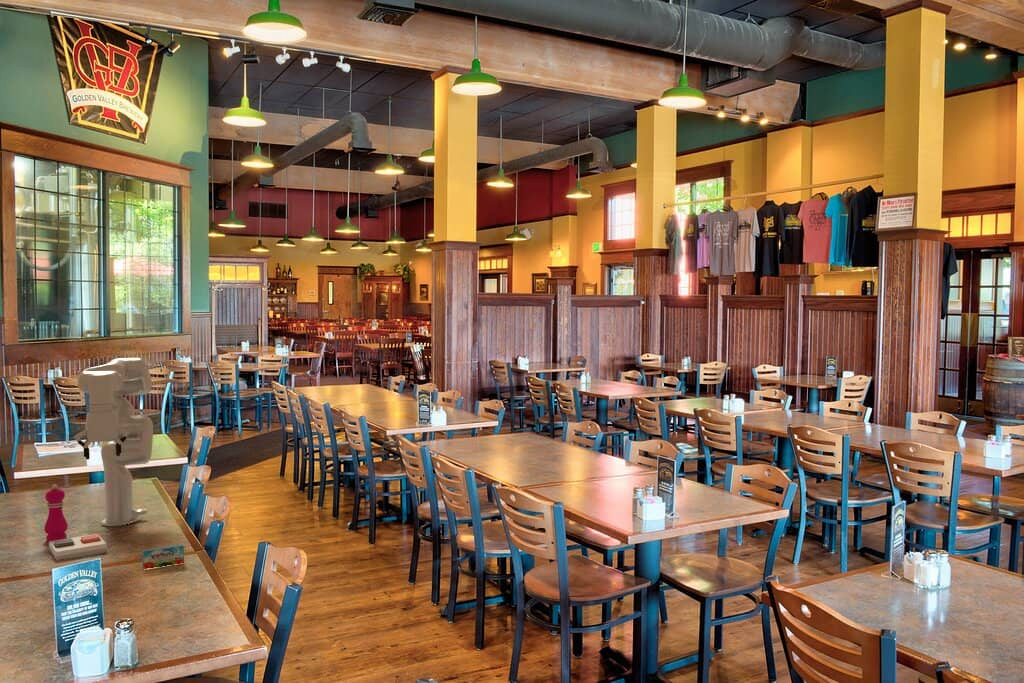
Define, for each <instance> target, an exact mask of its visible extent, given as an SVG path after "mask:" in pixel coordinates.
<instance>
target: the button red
mask: <svg viewBox="0 0 1024 683" xmlns="http://www.w3.org/2000/svg"><path fill="white" fill-rule="evenodd" d="M97 534H98V533H95V535H93V534H88V535H89V536H86V535H82V536H83V537H81V542H82V543H83V544H85V543H91V542H97V541H100V537H101V536H100V535H99V534H98V535H99V536H100V537H99V536H98V535H97Z"/></svg>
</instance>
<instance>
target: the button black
mask: <svg viewBox="0 0 1024 683" xmlns="http://www.w3.org/2000/svg"><path fill="white" fill-rule="evenodd" d="M71 538H72V537H69V539H68V538H66V539H63V540H57V541H54V542H55V548H61V547H67V546H73V545H74V541H73V540H72V539H71Z"/></svg>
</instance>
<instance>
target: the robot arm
mask: <svg viewBox="0 0 1024 683" xmlns="http://www.w3.org/2000/svg"><path fill="white" fill-rule="evenodd" d="M77 386H78V390H80V391H81V392H82V393H85V394H88V403H89V404H88V405H89V408H88V409H89V411H88V412H86V415H85V416H86V417H85V424H84V430H82V431H81V432H78V433H77V434H76V435H74V436H73V438H74V439H75V441H76V442H77V443H78V445H80V446H81V447H82V448H83V458H85V459H86V460H88V461H89V460H90V457H91V456H90V448H89V446H90V445H91V444H92V443H98V442H99V443H100V442H106V443H104V444H103V445H102V447H101V450H100V455H101V460H102V465H103V466H102V468H103V472H104V498H105V499H104V500H105V503H104V504H105V508H104V509H105V518H104V519H102V520H101V522H100V524H101V526H104V527H122V525H123V526H127V525H126V524H128V525H131V524H130V523H132V524H134V523H133V522H135V523H137V522H138V516H143V515H147V509H142V508H141V509H140V508H139V509H135V508H134V502H133V501H134V496H133V495H134V494H133V476H132V473H131V472H130V470H129V469H128V468H127V467H126V466H134V465H135V466H136V465H145V464H148V463H149V462H150V461H151V458H152V453H153V451H152V450H153V440H154V423H153V421H152V418H150V417H149V416H146V415H145V416H144V415H140V416H139V415H137V416H135V407H134V405H133V404H132V402H130V400H128V399H127V398H125V397H124V396H143V395H147V394H149V393H150V392H151V391H152V388H153V381H152V377H151V373H150V370H149V366H148V364H147V362H146V361H145V360H144V359H143V358H141V357H120V358H114V359H112V360H109V362H107V363H106V364H103V365H98V366H94V367H93V366H92V367H89V368H85V369H84V370H82V372H80V374H79V376H78V378H77ZM82 437H84V438H85V441H83V440H82V439H81V438H82ZM107 441H108V442H107Z"/></svg>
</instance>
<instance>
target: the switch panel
mask: <svg viewBox="0 0 1024 683" xmlns="http://www.w3.org/2000/svg"><path fill="white" fill-rule="evenodd" d="M95 534H97V535H98V536H99V537H100V541H97V542H91V543H85V544H83V543H82V542H81V537H83V536H84V535H80V536H75V537H69V538H71V539H72V540H73V541H74V545H73V546H67V547H61V548H55V542H54V541H49V542H48V550H50V551H49V552H50V553H52V554H51V555H52V557H53V556H54V557H53V558H54V560H55V559H56V560H58V561H62V560H61V559H64V560H69V559H68V558H70V559H75V558H81V557H87V556H91V555H97V554H103V553H107V552H108V550H107V548H108V545H107V542H106V541H105V540H104V539H103V537H101V536H100V535H99V534H98V533H95ZM95 534H92V535H95ZM89 535H90V534H87V535H85V536H89ZM69 538H67V539H69ZM62 540H63V539H62ZM55 541H57V540H55ZM56 560H55V561H56Z"/></svg>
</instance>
